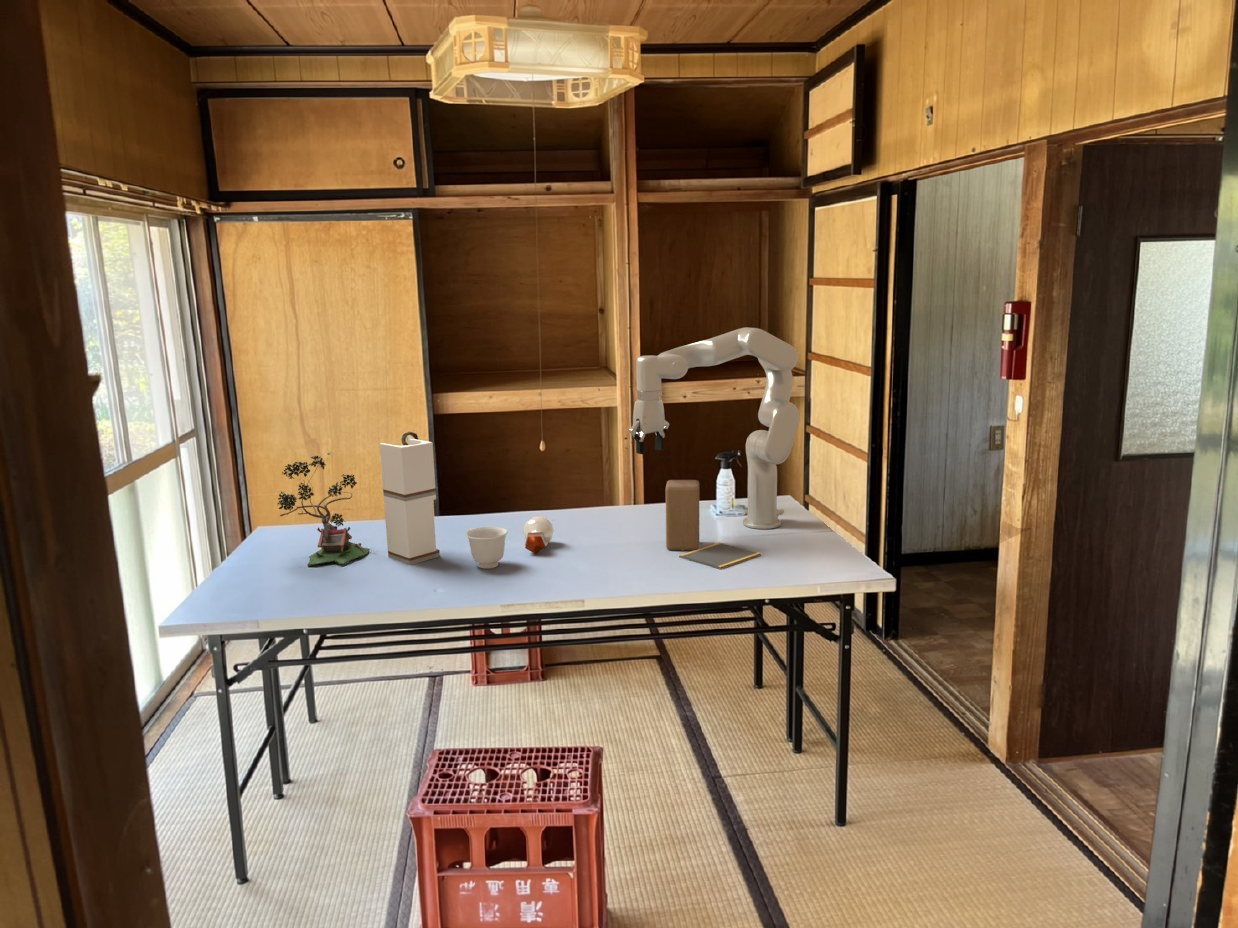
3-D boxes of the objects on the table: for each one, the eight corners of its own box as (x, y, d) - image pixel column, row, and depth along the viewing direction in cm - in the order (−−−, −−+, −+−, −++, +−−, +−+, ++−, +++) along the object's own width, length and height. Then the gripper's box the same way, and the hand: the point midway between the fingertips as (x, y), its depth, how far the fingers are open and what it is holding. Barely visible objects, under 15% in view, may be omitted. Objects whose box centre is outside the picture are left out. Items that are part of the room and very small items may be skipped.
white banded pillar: (439, 556, 261) (432, 442, 254) (409, 564, 254) (401, 447, 247) (418, 549, 269) (410, 438, 262) (388, 557, 261) (379, 443, 254)
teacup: (487, 554, 262) (485, 522, 260) (517, 565, 251) (516, 531, 249) (453, 563, 254) (451, 531, 252) (483, 575, 243) (481, 540, 241)
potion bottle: (544, 544, 276) (540, 564, 262) (519, 528, 275) (513, 547, 260) (560, 522, 274) (557, 541, 260) (534, 505, 272) (530, 523, 258)
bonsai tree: (300, 545, 275) (290, 448, 269) (377, 543, 276) (369, 446, 270) (257, 582, 241) (245, 471, 235) (345, 579, 242) (336, 469, 235)
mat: (719, 544, 267) (719, 542, 267) (760, 555, 255) (760, 553, 255) (679, 557, 255) (679, 555, 255) (720, 569, 244) (720, 567, 243)
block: (699, 541, 271) (699, 479, 267) (699, 551, 261) (699, 486, 257) (667, 541, 272) (666, 479, 268) (666, 550, 262) (665, 486, 258)
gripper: (660, 392, 276) (661, 446, 279) (620, 397, 264) (621, 454, 268) (677, 394, 270) (677, 449, 274) (637, 399, 259) (638, 457, 262)
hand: (650, 451), depth 271 cm, fingers open, 7 cm apart
